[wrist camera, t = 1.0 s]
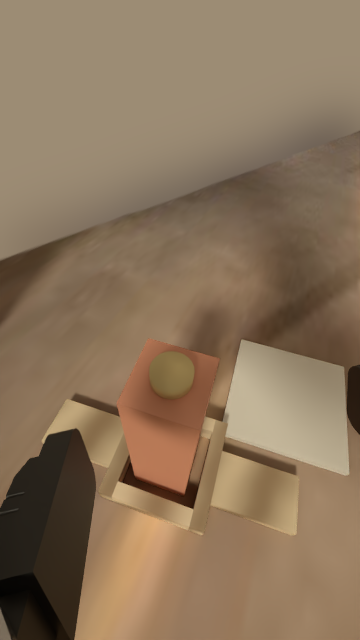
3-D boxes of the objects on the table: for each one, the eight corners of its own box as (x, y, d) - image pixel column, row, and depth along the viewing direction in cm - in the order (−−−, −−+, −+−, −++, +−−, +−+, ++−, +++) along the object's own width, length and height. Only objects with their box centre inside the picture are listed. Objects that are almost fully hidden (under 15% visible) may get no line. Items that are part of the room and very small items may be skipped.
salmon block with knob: (135, 479, 27) (114, 394, 15) (153, 431, 30) (147, 327, 18) (183, 496, 26) (202, 422, 14) (197, 446, 29) (222, 348, 17)
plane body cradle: (29, 469, 27) (21, 462, 26) (80, 384, 33) (76, 375, 31) (290, 569, 23) (299, 568, 22) (296, 454, 29) (304, 448, 28)
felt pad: (219, 434, 30) (220, 432, 30) (240, 342, 38) (241, 339, 37) (346, 475, 28) (349, 474, 28) (341, 369, 36) (344, 366, 35)
